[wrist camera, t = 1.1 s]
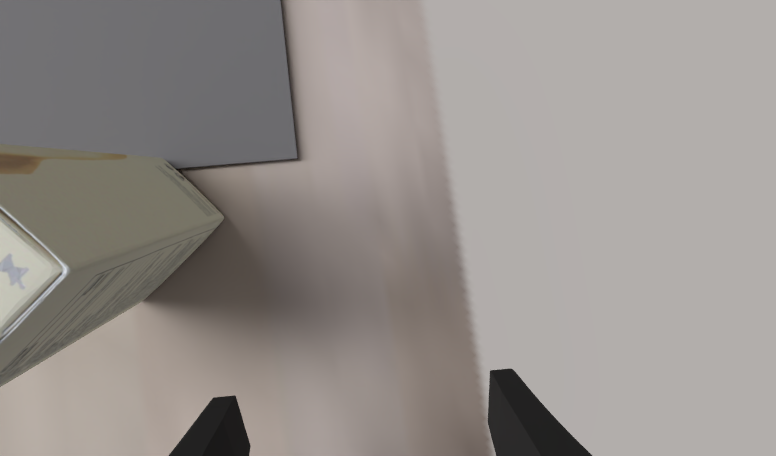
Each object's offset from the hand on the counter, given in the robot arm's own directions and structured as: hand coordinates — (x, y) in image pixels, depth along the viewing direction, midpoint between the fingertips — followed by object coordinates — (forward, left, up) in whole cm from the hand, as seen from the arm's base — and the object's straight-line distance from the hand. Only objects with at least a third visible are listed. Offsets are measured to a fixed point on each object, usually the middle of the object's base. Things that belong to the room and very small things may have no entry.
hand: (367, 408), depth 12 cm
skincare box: (+5, +10, -10) cm, 15 cm away
